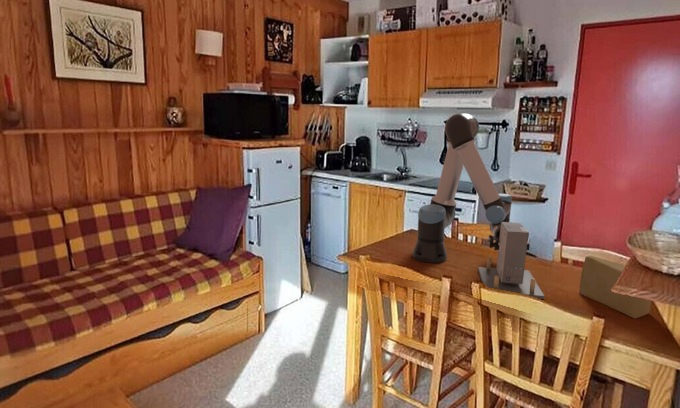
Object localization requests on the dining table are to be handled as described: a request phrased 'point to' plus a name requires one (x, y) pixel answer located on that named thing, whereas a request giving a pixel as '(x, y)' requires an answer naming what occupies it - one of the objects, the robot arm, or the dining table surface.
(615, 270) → the olive brown block
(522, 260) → the hard drive box
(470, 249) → the dining table surface
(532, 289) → the standoff base
